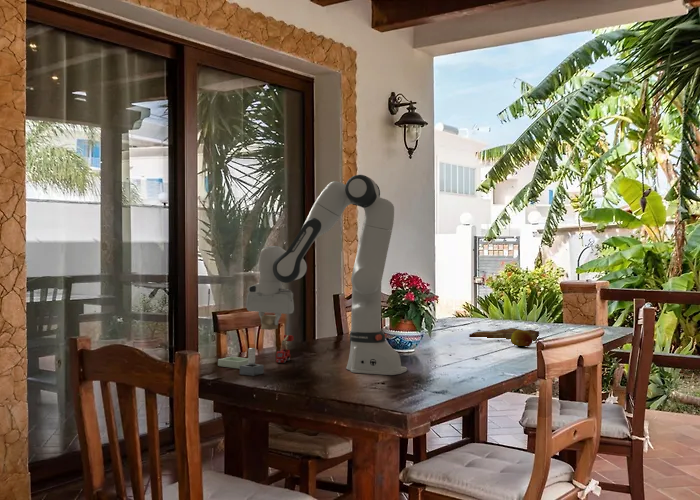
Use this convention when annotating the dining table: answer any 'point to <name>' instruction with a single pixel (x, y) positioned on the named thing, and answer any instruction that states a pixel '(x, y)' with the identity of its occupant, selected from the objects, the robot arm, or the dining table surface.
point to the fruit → (521, 338)
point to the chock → (268, 322)
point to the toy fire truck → (281, 355)
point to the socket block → (251, 369)
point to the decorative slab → (503, 333)
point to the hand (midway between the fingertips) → (269, 324)
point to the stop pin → (251, 356)
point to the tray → (232, 362)
